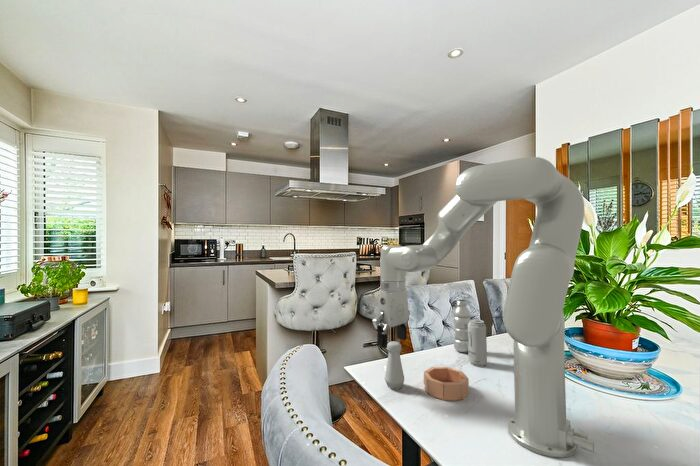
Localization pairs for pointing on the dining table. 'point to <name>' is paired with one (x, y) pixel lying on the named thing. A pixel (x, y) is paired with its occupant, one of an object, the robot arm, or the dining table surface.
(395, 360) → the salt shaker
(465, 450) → the dining table surface
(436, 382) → the octagonal orange bowl
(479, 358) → the energy drink can
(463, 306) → the plastic bottle
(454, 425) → the dining table surface
